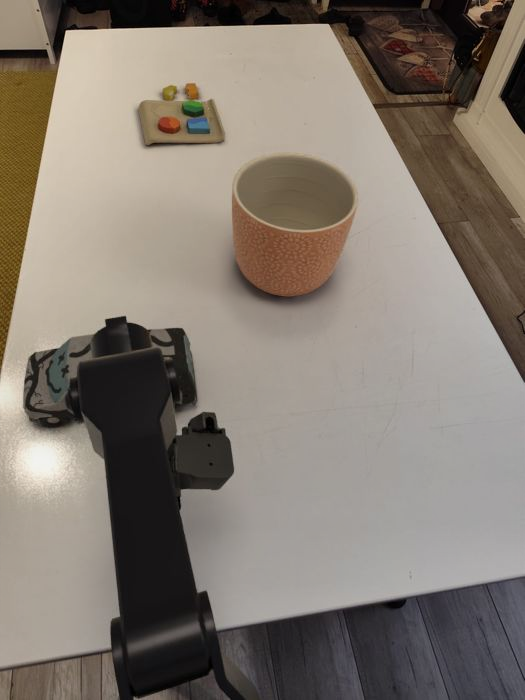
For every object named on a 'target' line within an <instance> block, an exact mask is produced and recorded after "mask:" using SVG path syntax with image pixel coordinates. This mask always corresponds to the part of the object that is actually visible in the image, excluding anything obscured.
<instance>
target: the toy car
mask: <svg viewBox="0 0 525 700" xmlns="http://www.w3.org/2000/svg"><path fill="white" fill-rule="evenodd" d="M147 330H148V331H149V332H150V336H151V340H152V345H153V347H159V348H160V349H161V351H162V355H163V358H164V357H170V358H172V360H173V363H174V367H175V371H176V376H177V380H178V386H179V392H180V399H181V402H179V403H174V405H175V411H176V410H177V409H178V408H179V405H180V406H186V405H190V404H192V405H193V406H195V405H196V404H197V403H198V400H199V399H198V390H197V389H198V388H197V381H196V380H197V379H196V374H195V373H196V372H195V366H194V358H193V353H192V350H191V342H190V339H189V337H188V334H187V333H186V331H185V330H184V328H183V327H168V328H166V327H165V328H151V329H147ZM94 334H95V333H93V334H84V335H78V336H77V335H76V336H71V337H70V338H69V339H67V340H66V341H65V342H64V343H63V344H62V345H60V346H59V347H57V348H52V349H46V350H41V351H40V350H39V351H35V352H33V353H32V354H30V356H28V358H27V363H26V368H25V373H24V374H25V375H24V382H23V383H24V384H23V392H22V393H23V394H22V395H23V396H22V408H23V409H24V413H25V414H26V416H27V417H28V421H29V422H31V423H34V424H37V423H39V425H40V426H42V427H44V428H49V429H55V428H61V427H64V426H66V425H67V423H68V422H69V419H70V420H72V419H74V420H75V416H74V414H73V413H71V412H70V411H68V410H67V407H66V403H65V393H66V390H67V387H68V385H69V382H70V378H71V377H73V376H75V375H77V364H78V363H79V361H84V360H87V359H92V353H91V346H90V342H91V339H92V337H93V336H94Z"/></svg>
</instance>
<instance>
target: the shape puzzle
mask: <svg viewBox="0 0 525 700" xmlns="http://www.w3.org/2000/svg"><path fill="white" fill-rule="evenodd" d="M177 87H178V86H177V85H172V84H170V85H168V86H165V87H163V88H162V95H163V98H164V100H162V99H161V100H157V99H155V100H153V99H145V100H142V101H141V102H140V103H139V105H138V113H139V119H140V123H141V129H142V135H143V138H144V145H146V146H150V145H151V144H154V143H177V144H178V143H181V144H182V143H184V144H185V143H186V144H187V143H189V144H191V143H193V144H194V143H195V144H196V143H197V144H199V143H200V144H211V143H212V144H213V143H215V144H217V143H220V142H222V141H224V139H225V138H226V130H225V128H224V126H223V123H222V122H223V121H222V120H221V116H220V114H219V111H218V107H217V105H216V102H215V99H213V98H209V99H208V100H206V101H207V103H208V104H207V103H206V101H205V100H204V101H201V100H199V101H200V102H201V103H200V102H199V101H198V100H197V99H199V91H198V87H197V84H196V83H195V82H191V83H190V82H189V83H185V94H187V100H173V99H175V94H176V93H177V92H178V88H177ZM188 95H189V96H188ZM207 105H208V106H207ZM208 108H209V109H208Z"/></svg>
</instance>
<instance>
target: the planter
mask: <svg viewBox="0 0 525 700" xmlns="http://www.w3.org/2000/svg"><path fill="white" fill-rule="evenodd" d="M357 189H358V188H357V187H356V184H355V183H354V181H353V180H352V178H351V177H350V176H349V175H348V174H347V173H346V172H345V171H344V170H343V169H341V168H340V167H338V165H335V164H333V163H332V162H330V161H328V160H325V159H322V158H320V157H317V156H313V155H310V154H307V153H306V154H305V153H300V152H299V153H298V152H274V153H269V154H265V155H261V156H258V157H256V158H253V159H252V160H249V161H248V162H246V163H245V164H244V165H243V166H241V167H240V168H239V169H238V170H237V172H236V174H235V175H234V177H233V181H232V188H231V225H232V226H231V228H232V229H231V230H232V241H233V250H234V256H235V260H236V264H237V266H238V268H239V270H240V271H241V273H242V275H243V276H244V277H245V278H246V279H247V280H248V281H249V282H250V283H251V285H253V286H255V287H256V288H258V289H259V290H261V291H263V292H265V293H267V294H271V295H274V296H279V297H297V296H302V295H305V294H308V293H311V292H314V291H315V290H317V289H318V288H320V287H321V286H322V285H324V284H325V283H326V281H328V279H329V278H330V276H331V275H332V274H333V272H334V270H335V269H336V267H337V264H338V262H339V260H340V258H341V256H342V254H343V251H344V248H345V246H346V244H347V240H348V237H349V234H350V233H351V232H350V231H351V229H352V225H353V222H354V219H355V216H356V213H357V209H358V205H359V192H358V190H357Z"/></svg>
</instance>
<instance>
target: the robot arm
mask: <svg viewBox="0 0 525 700" xmlns="http://www.w3.org/2000/svg"><path fill="white" fill-rule="evenodd" d="M104 323H105V326H103V327H102V328H100V329H99V330H97V331H96V332H95V333H93V334H94V336H93V337H92V339H91V342H90V346H91V353H92V359H87V360H84V361H79V363H78V364H77V375H75V376H73V377H71V378H70V382H69V385H68V387H67V390H66V393H65V403H66V407H67V410H68V411H70V412H71V413H73V414H74V416H75V418H74V420H75V422H77V423H78V425H80V424H84V425H85V428H86V430H87V435H88V437H89V439H90V444H91V447H92V449H93V452H94V453H95V454H97V455H98V456H99V457H100V458H101V459H102V460H103V461H104V472H105V481H106V490H107V491H106V492H107V501H108V511H109V521H110V529H111V540H112V551H113V561H114V571H115V572H114V573H115V580H116V581H115V582H116V590H117V591H116V592H117V600H118V611H119V616H117V617H113V618H111V619H110V625H109V626H110V627H109V634H110V635H109V637H110V647H111V656H112V657H111V658H112V664H113V671H114V677H115V682H116V687H117V692H118V696H117V700H135V699H137V700H140V699H142V698H145V697H148V696H152V695H155V694H158V693H160V692H163V691H166V690H170V689H172V688H176V687H178V686H181V685H184V684H187V683H190V682H192V681H196V680H199V679H201V678H204V677H208V676H211V674H212V672H213V675H214V680H215V682H216V684H217V686H218V688H219V689H220V690H221V691H222V693H224V695H225V696H226V697H227V698H228V699H229V700H262V699H261V696H260V694H259V691H258V688H257V687H256V685H255V684H254V683H253V682H252V681H251V680H250V679H249V678H248V677H247V676H246V674H244V672H243V671H242V670H241V669H240V668H239V667H238V665H236V664H235V663H234V662H233V660H231V658H229V656H228V655H227V654H226V653H225V652H224V651H223V650H222V649H221V645H220V641H219V637H218V631H217V627H216V621H215V618H214V613H213V609H212V604H211V600H210V597H209V593H208V590H206V589H205V590H203V591H199V592H198V589H197V585H196V579H195V574H194V570H193V566H192V562H191V561H192V560H191V556H190V552H189V548H188V542H187V538H186V534H185V528H184V524H183V519H182V515H181V508H182V502H181V497H182V491H183V490H210V491H218V490H219V491H220V489H222V488H223V486H225V485H226V483H227V482H228V481H229V480H230V479H231V478H232V476H233V475H234V474H235V464H234V458H233V457H234V456H233V451H232V450H233V449H232V442H231V439H230V438H229V436H227V432H226V428H225V427H219V424H218V418H217V413H215V412H213V411H202V412H200V413H199V414H197V415H195V416H194V417H191V418H190V419H189V421H188V423H187V426H183V427H181V434H177V433H178V428H177V427H178V426H177V421H176V410H175V405H174V403H179V402H181V399H180V392H179V386H178V380H177V376H176V371H175V367H174V363H173V360H172V358H170V357H164V358H163V355H162V351H161V349H160V348H159V347H153V345H152V340H151V336H150V332H149V331H148V330H149V329H147V328H146V327H145V326H143V325H141V324H138V323H135V322H130V321H129V322H128V319H127V315H120V316H116V317H109V318H105V319H104Z"/></svg>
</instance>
